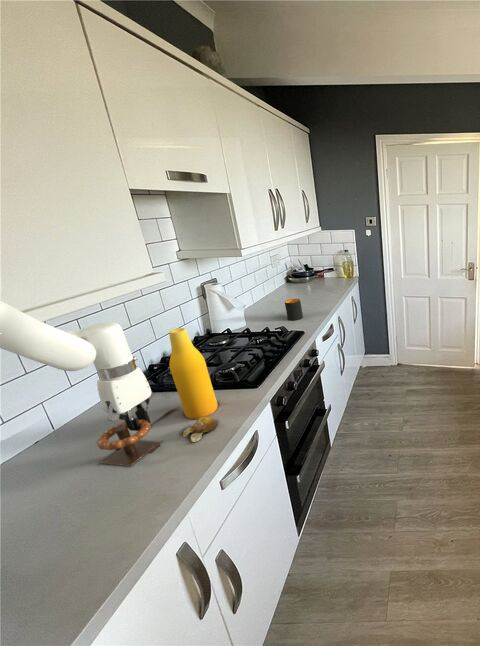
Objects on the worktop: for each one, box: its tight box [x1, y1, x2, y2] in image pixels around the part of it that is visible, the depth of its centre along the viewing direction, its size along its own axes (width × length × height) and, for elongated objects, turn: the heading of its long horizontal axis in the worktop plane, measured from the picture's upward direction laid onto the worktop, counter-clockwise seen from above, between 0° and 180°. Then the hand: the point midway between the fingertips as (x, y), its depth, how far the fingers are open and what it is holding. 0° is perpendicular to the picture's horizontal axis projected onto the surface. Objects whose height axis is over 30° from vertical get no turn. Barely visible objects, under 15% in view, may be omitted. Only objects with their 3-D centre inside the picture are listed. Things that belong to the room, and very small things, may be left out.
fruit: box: [182, 416, 217, 443], centre depth 104 cm, size 8×8×4 cm
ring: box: [96, 420, 152, 451], centre depth 93 cm, size 11×11×2 cm
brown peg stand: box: [100, 426, 161, 467], centre depth 94 cm, size 9×9×9 cm
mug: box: [284, 298, 304, 322], centre depth 198 cm, size 8×12×10 cm
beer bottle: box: [168, 327, 218, 420], centre depth 109 cm, size 9×9×29 cm
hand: (140, 426), depth 98 cm, fingers closed on ring, 2 cm apart
